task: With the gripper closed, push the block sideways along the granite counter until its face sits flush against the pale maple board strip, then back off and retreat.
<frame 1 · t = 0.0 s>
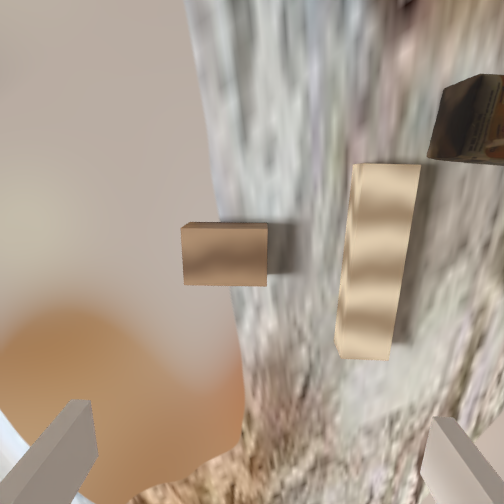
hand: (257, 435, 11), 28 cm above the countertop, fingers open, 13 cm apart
block: (228, 248, 39), on the countertop
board: (365, 260, 38), on the countertop
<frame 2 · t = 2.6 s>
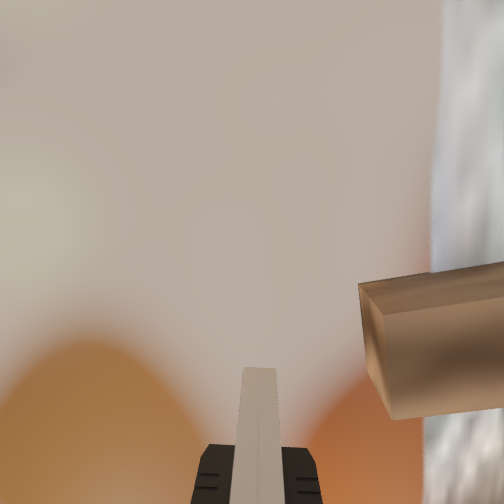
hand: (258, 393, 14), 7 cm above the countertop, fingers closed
block: (435, 318, 20), on the countertop
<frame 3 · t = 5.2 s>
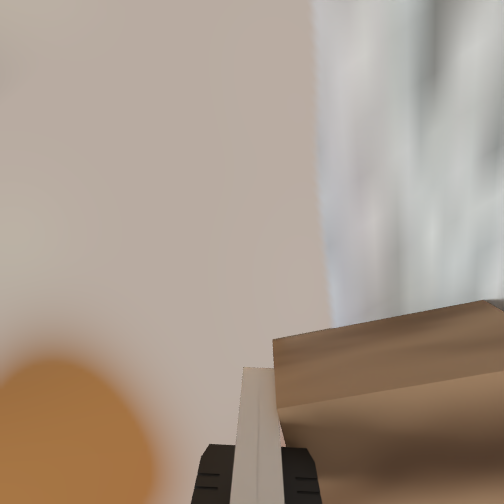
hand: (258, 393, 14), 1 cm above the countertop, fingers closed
block: (382, 380, 15), on the countertop, touching gripper
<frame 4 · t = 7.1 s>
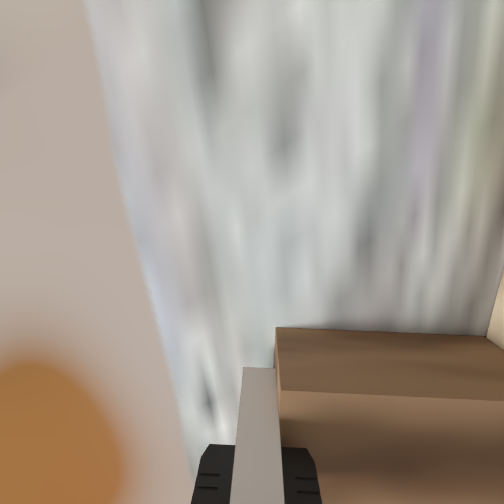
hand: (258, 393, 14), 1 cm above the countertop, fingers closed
block: (367, 389, 15), on the countertop, touching gripper
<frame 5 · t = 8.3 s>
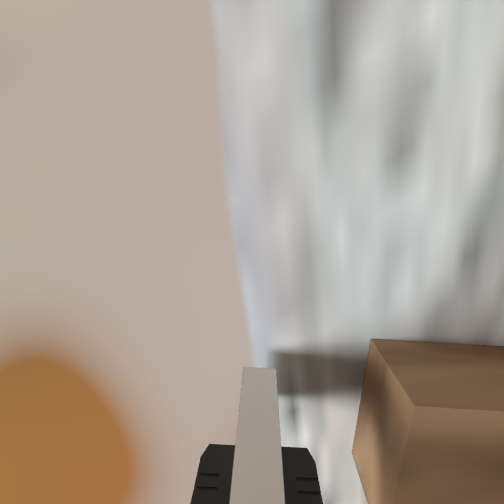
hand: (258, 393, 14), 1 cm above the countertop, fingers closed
block: (455, 401, 15), on the countertop
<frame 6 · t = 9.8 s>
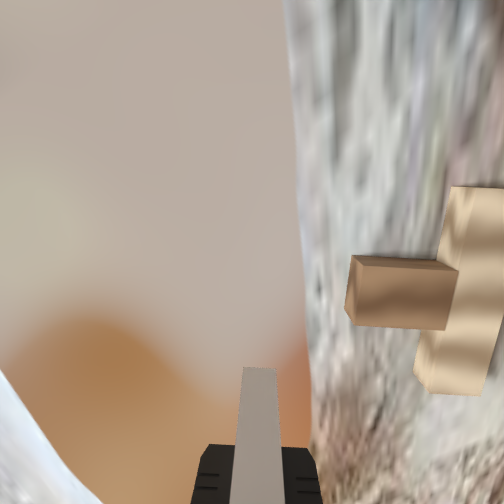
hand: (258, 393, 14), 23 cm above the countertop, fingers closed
block: (387, 284, 36), on the countertop
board: (455, 288, 36), on the countertop
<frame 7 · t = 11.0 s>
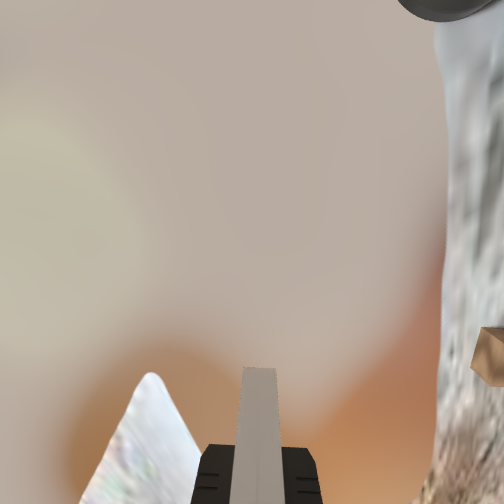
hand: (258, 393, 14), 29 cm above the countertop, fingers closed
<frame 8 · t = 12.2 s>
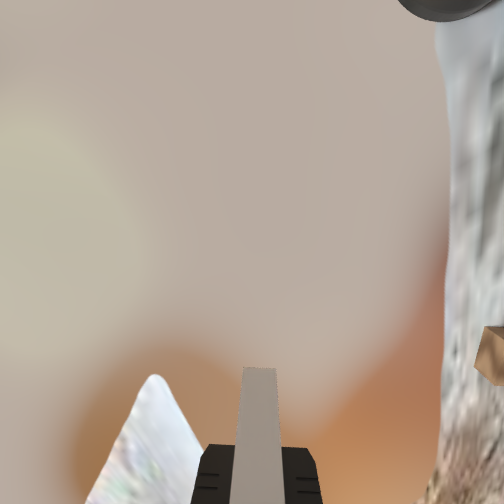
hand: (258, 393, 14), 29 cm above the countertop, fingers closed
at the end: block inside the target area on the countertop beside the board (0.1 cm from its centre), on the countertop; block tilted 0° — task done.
